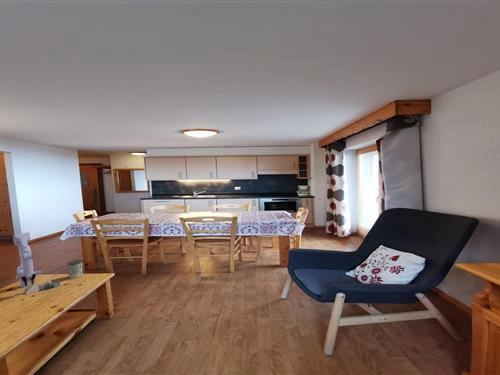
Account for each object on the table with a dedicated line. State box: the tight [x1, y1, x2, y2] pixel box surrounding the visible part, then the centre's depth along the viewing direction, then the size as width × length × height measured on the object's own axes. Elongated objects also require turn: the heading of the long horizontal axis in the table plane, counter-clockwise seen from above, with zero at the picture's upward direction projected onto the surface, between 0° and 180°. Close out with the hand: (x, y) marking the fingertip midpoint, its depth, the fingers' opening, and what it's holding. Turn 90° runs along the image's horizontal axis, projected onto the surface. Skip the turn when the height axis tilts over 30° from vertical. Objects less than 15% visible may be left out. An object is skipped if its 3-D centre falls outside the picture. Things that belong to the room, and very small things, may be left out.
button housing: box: [44, 283, 55, 291], centre depth 194 cm, size 6×6×2 cm
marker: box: [26, 277, 34, 289], centre depth 188 cm, size 3×3×8 cm
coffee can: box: [67, 259, 84, 280], centre depth 215 cm, size 10×10×14 cm
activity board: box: [23, 280, 61, 296], centre depth 195 cm, size 15×22×1 cm
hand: (29, 285), depth 188 cm, fingers closed on marker, 3 cm apart
